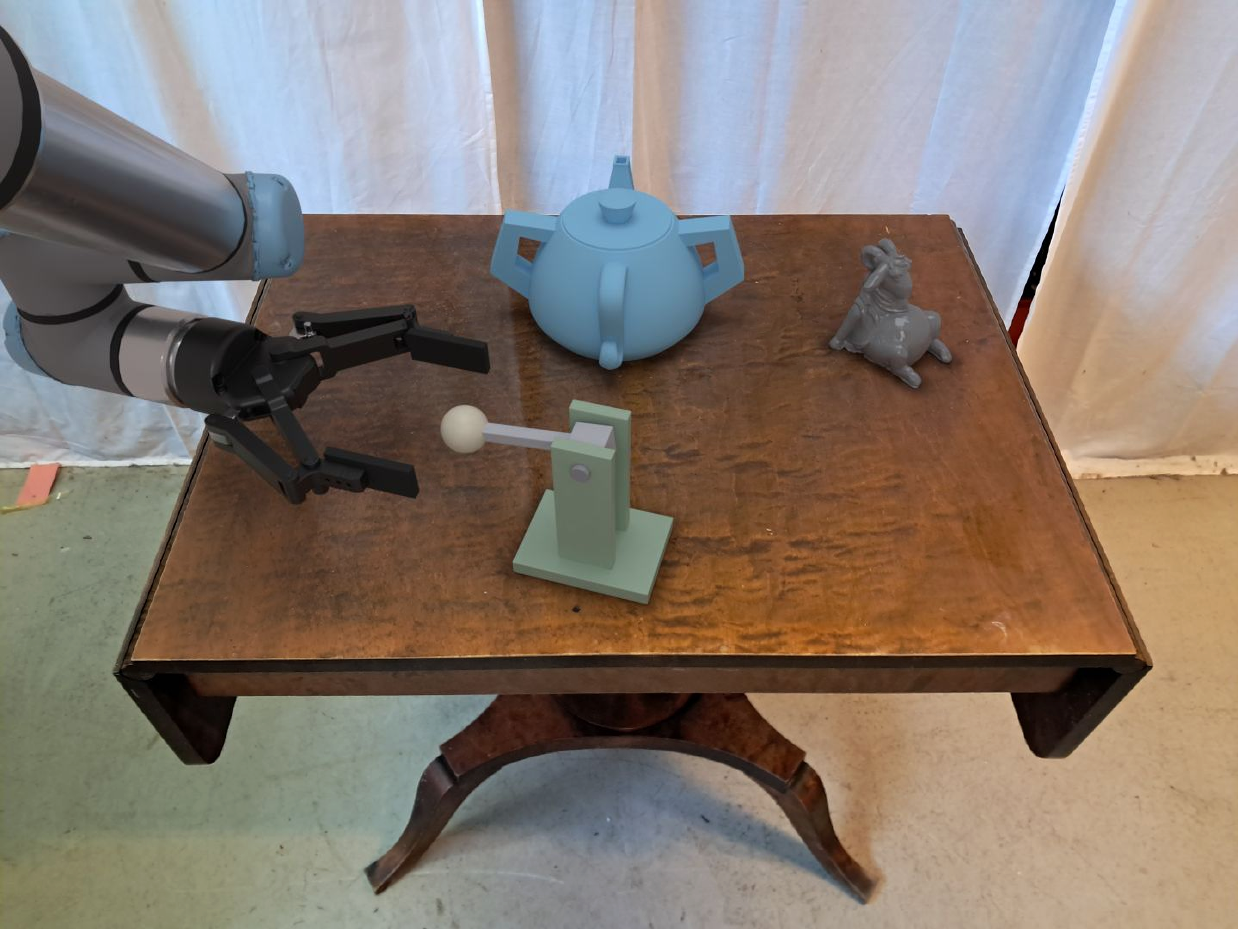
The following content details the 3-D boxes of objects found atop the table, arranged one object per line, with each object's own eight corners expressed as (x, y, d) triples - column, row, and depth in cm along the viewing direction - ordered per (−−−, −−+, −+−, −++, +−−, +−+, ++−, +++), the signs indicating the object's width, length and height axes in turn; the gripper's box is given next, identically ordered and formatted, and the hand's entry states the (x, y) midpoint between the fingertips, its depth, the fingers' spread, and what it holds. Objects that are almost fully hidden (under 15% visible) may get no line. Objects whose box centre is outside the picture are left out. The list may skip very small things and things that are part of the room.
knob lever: (439, 459, 71) (427, 424, 68) (458, 427, 73) (447, 392, 71) (606, 484, 67) (600, 448, 65) (620, 449, 70) (615, 413, 67)
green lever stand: (513, 572, 75) (497, 451, 65) (547, 498, 80) (537, 376, 70) (647, 605, 73) (652, 485, 63) (672, 527, 78) (681, 406, 68)
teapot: (744, 323, 96) (758, 202, 86) (599, 407, 88) (595, 284, 78) (623, 241, 106) (622, 125, 96) (481, 310, 98) (465, 190, 88)
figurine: (910, 394, 89) (939, 303, 81) (825, 344, 94) (844, 254, 86) (959, 354, 93) (991, 263, 85) (874, 308, 98) (897, 218, 90)
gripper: (293, 307, 85) (516, 350, 81) (120, 511, 68) (388, 578, 64) (271, 235, 79) (508, 277, 75) (76, 439, 63) (366, 507, 59)
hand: (453, 416), depth 70 cm, fingers open, 13 cm apart
